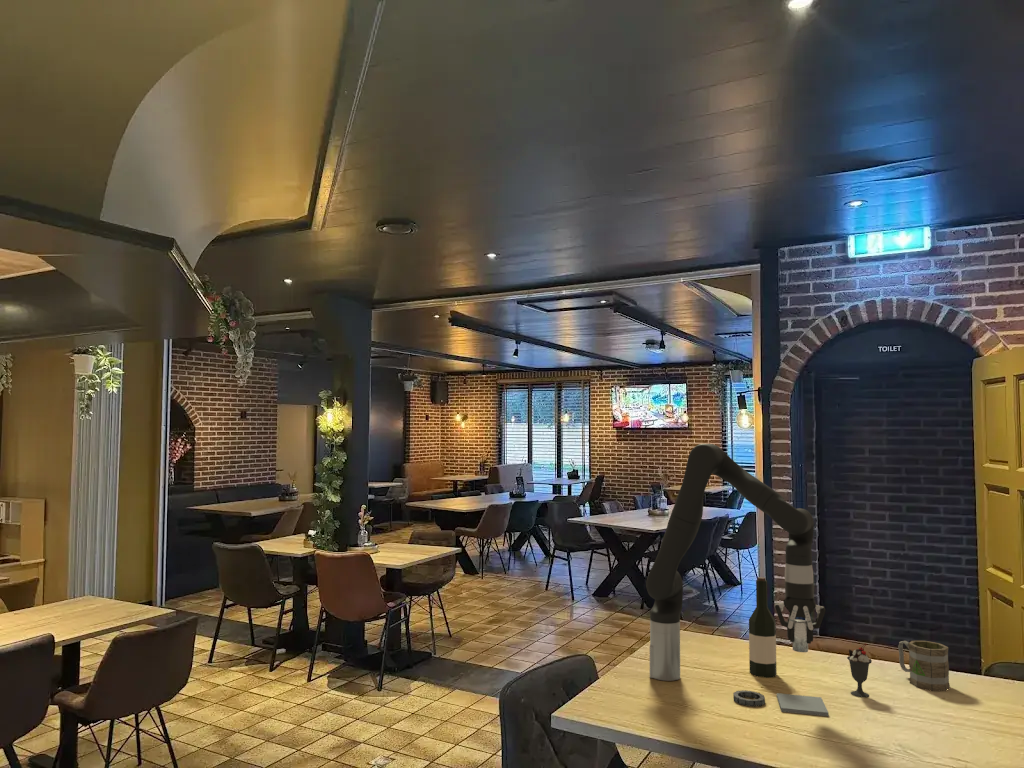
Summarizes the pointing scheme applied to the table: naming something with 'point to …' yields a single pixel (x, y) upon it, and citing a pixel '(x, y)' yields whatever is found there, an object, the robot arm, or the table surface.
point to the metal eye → (757, 700)
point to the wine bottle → (762, 635)
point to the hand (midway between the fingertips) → (800, 641)
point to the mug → (926, 664)
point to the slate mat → (802, 704)
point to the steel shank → (800, 635)
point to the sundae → (859, 669)
